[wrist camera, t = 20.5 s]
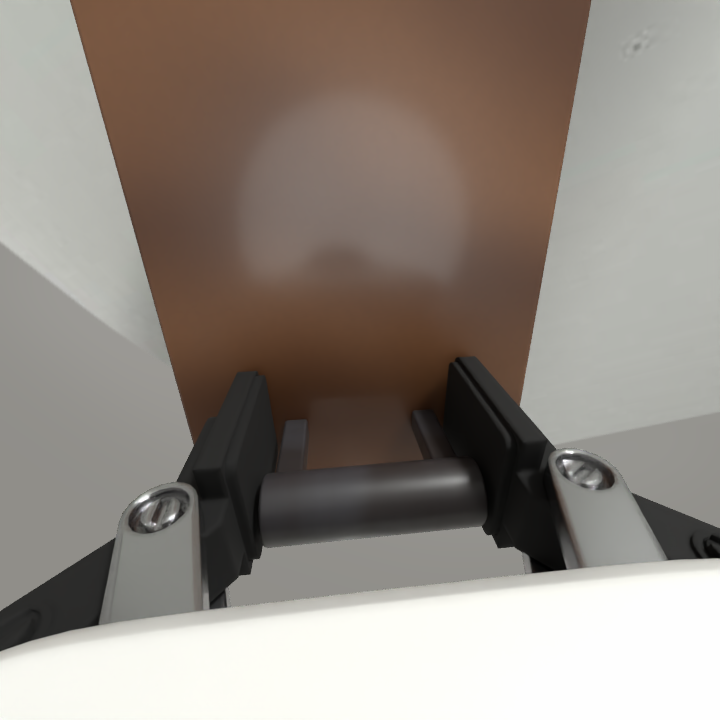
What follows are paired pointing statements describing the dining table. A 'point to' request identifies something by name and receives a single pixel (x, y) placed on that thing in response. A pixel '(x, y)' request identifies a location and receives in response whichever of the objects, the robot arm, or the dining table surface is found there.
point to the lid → (342, 224)
